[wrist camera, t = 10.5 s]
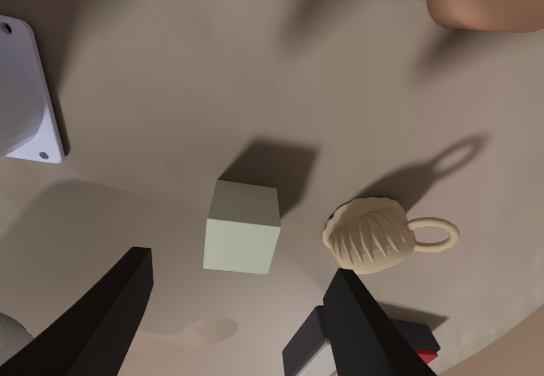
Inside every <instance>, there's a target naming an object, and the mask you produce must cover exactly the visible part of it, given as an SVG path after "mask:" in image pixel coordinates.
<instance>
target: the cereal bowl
mask: <svg viewBox="0 0 544 376" xmlns="http://www.w3.org/2000/svg"><path fill="white" fill-rule="evenodd" d="M33 339H35V338H34V337H32V335H31V334H29V333H28V332H27V331H26V329H25V328H24V327H23V326H22V325H21V324H20V323H19V322H17V321H16V320H15V319H13V318H11V317H9V316H7V315H5V314H3V313H0V366H1V365H2V364H3V363H4V362H6V361H7V360H8V359H10V358H11V357H12V356H13V355H15V354H16V353H17V352H18V351H20V350H21V349H22V348H24V347H25V346H26V345H27V344H28V343H30V342H31V341H32V340H33Z"/></svg>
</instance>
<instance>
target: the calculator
mask: <svg viewBox="0 0 544 376" xmlns="http://www.w3.org/2000/svg"><path fill="white" fill-rule="evenodd" d="M390 321H391V322H392V323H393V324H394V326H395V327H396V328H397V329H398V331H399V332H400V333H401V334H402V336H403V337H404V338H405V339H406V341H407V342H408V343H409V344H410V345H411V347H412V348H413V349H414V350H415V351H416V353H417V354H418V355H419V356H420V357H421V358H422V359H423V361H424V362H425V363H426V364H428V363H429V362H431V361H432V360H434V359H435V358H436V357H438V354H437V352H438V351H439V350H440V346H439V344H438V343H437V341H436V339H435V337H434V336H433V334H432V332H431V331H430V329H429V327H428V326H427V325H423V324H418V323H412V322H406V321H400V320H394V319H390ZM282 355H283V364H284V373H285V376H338V374H337V370H336V366H335V362H334V357H333V353H332V349H331V345H330V340H329V336H328V332H327V327H326V321H325V314H324V306H323V305H318V306H316V307H315V308H314V309H313V311H312V312H311V313H310V315H309V316H308V317H307V319H306V320H305V322H304V323H303V324H302V325H301V327H300V328H299V329H298V331H297V332H296V333H295V335H294V336H293V337H292V339H291V340H290V341H289V343H288V344H287V345H286V347H285V348H284V349H283V351H282Z"/></svg>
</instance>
